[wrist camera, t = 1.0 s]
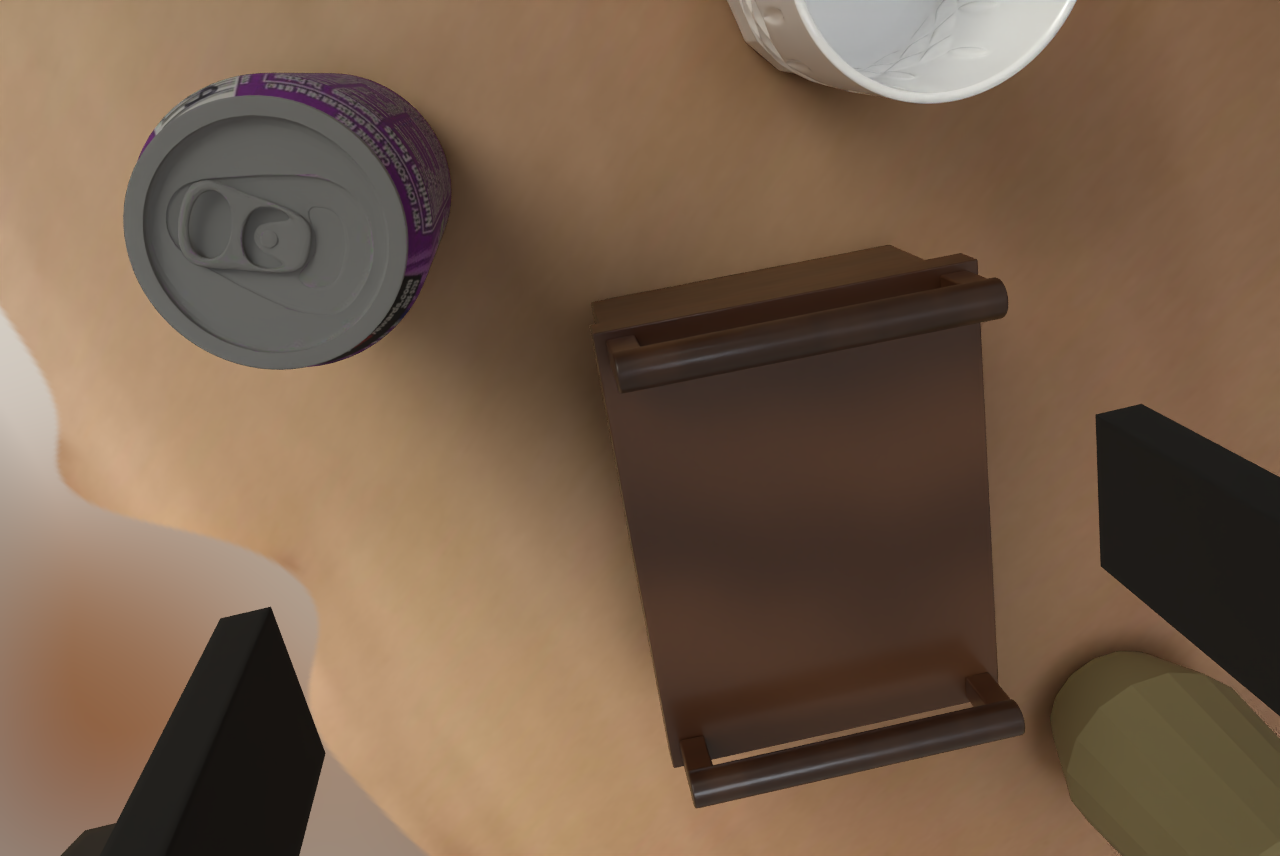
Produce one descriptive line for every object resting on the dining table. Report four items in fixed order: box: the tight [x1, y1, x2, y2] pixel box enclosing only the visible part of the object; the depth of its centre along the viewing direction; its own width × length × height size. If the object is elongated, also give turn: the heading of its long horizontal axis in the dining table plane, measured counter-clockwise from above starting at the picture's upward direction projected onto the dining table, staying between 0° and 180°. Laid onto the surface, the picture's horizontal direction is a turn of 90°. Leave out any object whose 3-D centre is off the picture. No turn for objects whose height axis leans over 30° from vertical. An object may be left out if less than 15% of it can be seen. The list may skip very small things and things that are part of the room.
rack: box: [590, 245, 1025, 808], centre depth 35 cm, size 16×12×9 cm
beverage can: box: [123, 73, 451, 370], centre depth 28 cm, size 7×7×12 cm
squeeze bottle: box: [1050, 651, 1280, 856], centre depth 37 cm, size 8×8×18 cm
